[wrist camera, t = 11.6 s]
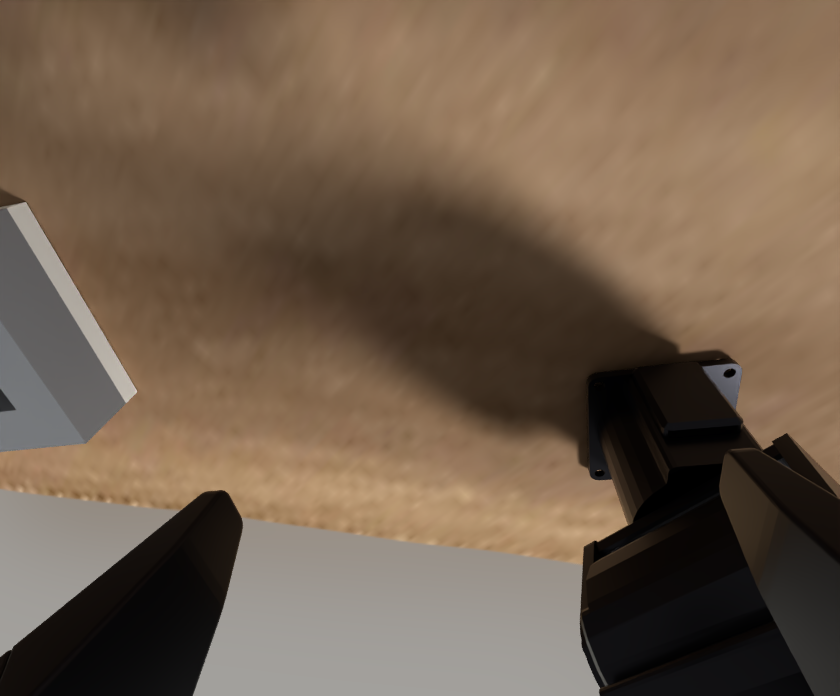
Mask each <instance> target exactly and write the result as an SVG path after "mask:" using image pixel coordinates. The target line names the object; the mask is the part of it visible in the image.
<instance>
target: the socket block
mask: <svg viewBox="0 0 840 696" xmlns="http://www.w3.org/2000/svg"><path fill="white" fill-rule="evenodd" d="M136 393H137V390H136V388H135V387H134V385H133V383H132V382H131V380H130V378H129V376H128V375H127V373H126V371H125V370H124V368H123V366H122V365H121V363H120V361H119V359H118V358H117V356H116V354H115V353H114V351H113V349H112V348H111V346H110V344H109V342H108V341H107V339H106V337H105V336H104V334H103V332H102V331H101V329H100V327H99V325H98V324H97V322H96V320H95V319H94V317H93V315H92V314H91V312H90V310H89V308H88V307H87V305H86V303H85V302H84V300H83V298H82V297H81V295H80V293H79V291H78V290H77V288H76V286H75V285H74V283H73V281H72V280H71V278H70V276H69V274H68V273H67V271H66V269H65V268H64V266H63V264H62V263H61V261H60V259H59V257H58V256H57V254H56V252H55V251H54V249H53V247H52V246H51V244H50V242H49V240H48V239H47V237H46V235H45V234H44V232H43V230H42V229H41V227H40V225H39V223H38V222H37V220H36V218H35V217H34V215H33V213H32V212H31V210H30V208H29V206H28V205H27V203H26V202H23V203H18V204H13V205H8V206H3V207H0V452H5V451H15V450H25V449H35V448H45V447H55V446H65V445H75V444H85V443H87V442H88V441H89V440H90V439H91V438H92V437H93V436H94V435H95V434H96V433H97V432H98V431H99V430H100V429H101V428H102V427H103V426H104V425H105V424H106V423H107V422H108V421H109V420H110V419H111V418H112V417H113V416H114V415H115V414H116V413H117V412H118V411H119V410H120V409H121V408H122V407H123V406H124V405H125V404H126V403H127V402H128V401H129V400H130V399H131V398H132V397H133V396H134V395H135V394H136Z"/></svg>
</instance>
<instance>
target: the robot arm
mask: <svg viewBox="0 0 840 696" xmlns="http://www.w3.org/2000/svg"><path fill="white" fill-rule="evenodd" d="M730 368H731V370H730V371H729V372H727V373H724V371H726V370H727V369H730ZM741 375H742V368H741V367H740V366H739V365H738V363H737V362H736V361H735V360H732V359H721V360H712V361H702V362H695V361H693V362H683V363H674V364H665V365H655V366H646V367H638V368H636V369H627V370H617V371H608V372H599V373H594V374H592V375H590V376H589V377H588V379H587V382H586V392H587V441H588V470H589V473H590V476H591V477H592V478H593V479H595V480H610V479H612V480H613V483H614V486H615V489H616V492H617V495H618V497H619V500H620V503H621V506H622V509H623V512H624V515H625V518H626V520H627V523H628V525H627V526H626V527H624V528H622V529H620V530H618V531H617V532H615V533H613V534H611V535H609V536H608V537H606V538H604V539H602V540H601V541H599V542H597V541H593V542H592V543H590V544H588V545H586V546H584V554H583V573H582V594H581V613H580V634H581V639H582V648H583V651H584V653H585V655H586V658H587V661H588V664H589V666H590V668H591V670H592V673H593V675H594V677H595V679H596V681H597V683H598V685H599V687H600V690H599V694H600V696H840V485H839V484H838V483H837V482H836V481H835V480H834V479H833V478H832V477H831V476H830V475H829V474H828V473H827V472H826V471H825V470H824V469H823V468H822V467H821V466H820V465H819V464H818V463H817V462H816V461H815V460H814V459H813V458H812V457H811V456H810V455H809V454H808V453H807V452H806V451H805V450H804V449H803V448H802V447H801V446H800V445H799V444H798V443H797V442H796V441H795V440H794V439H793V438H792V437H791V436H789V435H788V434H787V433H786V434H784V435H783V436H781V437H779V438H777V439H775V440H774V441H772V442H773V445H771V446H769V447H768V448H766V449H764V450H763V449H762V448H761V446H760V445H759V444H758V442H757V441H756V440H755V438H754V437H753V436H752V435H751V433H750V432H749V431H748V429H747V428H746V427H745V425H744V424H743V419H742V418H741V417H740V415H739V414H738V413H737V411H736V404H737V398H738V393H739V387H740V381H741ZM597 382H603V383H602V384H601V385H599V386H594V385H595V384H596V383H597ZM597 470H601V471H597ZM242 529H243V522H242V518H241V516H240V514H239V512H238V510H237V508H236V506H235V505H234V503H233V501H232V499H231V497H230V496H229V494H228V493H227V492H226V491H223V490H219V491H207V492H204V493H202V494H201V495H199V496H198V497H197V498H196V499H194V500H193V501H192V502H191V503H190V504H188V505H187V506H186V507H185V508H183V509H182V510H181V511H180V512H179V513H177V514H176V515H175V516H174V517H172V518H171V519H170V520H169V521H168V522H166V523H165V524H164V525H163V526H161V527H160V528H159V529H158V530H156V531H155V532H154V533H153V534H152V535H150V536H149V537H148V538H146V539H145V540H144V541H143V542H142V543H141V544H139V545H138V546H137V547H135V548H134V549H133V550H132V551H130V552H129V553H128V554H127V555H126V556H124V557H123V558H122V559H121V560H119V561H118V562H117V563H116V564H114V565H113V566H112V567H111V568H110V569H108V570H107V571H106V572H105V573H103V574H102V575H101V576H100V577H98V578H97V579H96V580H95V581H94V582H92V583H91V584H90V585H89V586H87V587H86V588H85V589H84V590H82V591H81V592H80V593H79V594H78V595H76V596H75V597H74V598H73V599H71V600H70V601H69V602H68V603H66V604H65V605H64V606H63V607H62V608H61V609H59V610H58V611H57V612H55V613H54V614H53V615H52V616H50V617H49V618H48V619H47V620H46V621H44V622H43V623H42V624H41V625H39V626H38V627H37V628H36V629H35V630H33V631H32V632H31V633H29V634H28V635H27V636H26V637H25V638H23V639H22V640H21V641H20V642H18V643H17V644H16V645H15V646H14V647H13V649H12V650H10V651H7V652H6V653H5V654H3V655H2V656H1V657H0V696H193V693H194V691H195V688H196V685H197V682H198V679H199V676H200V674H201V671H202V667H203V664H204V662H205V659H206V656H207V653H208V651H209V648H210V645H211V642H212V639H213V636H214V633H215V630H216V628H217V625H218V622H219V619H220V615H221V612H222V609H223V606H224V602H225V599H226V595H227V591H228V587H229V583H230V579H231V575H232V571H233V567H234V562H235V559H236V554H237V550H238V546H239V542H240V538H241V534H242Z"/></svg>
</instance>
